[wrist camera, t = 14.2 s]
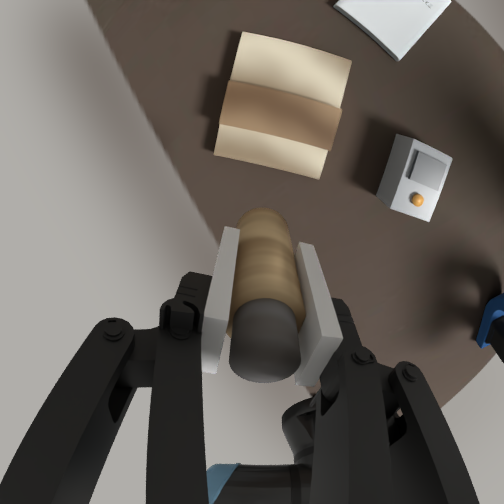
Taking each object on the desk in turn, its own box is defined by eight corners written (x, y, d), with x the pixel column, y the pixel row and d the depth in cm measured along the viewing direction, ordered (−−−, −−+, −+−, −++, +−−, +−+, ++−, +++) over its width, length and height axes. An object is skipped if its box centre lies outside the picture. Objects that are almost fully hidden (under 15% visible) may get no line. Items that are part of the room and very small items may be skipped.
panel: (316, 176, 28) (321, 182, 26) (215, 152, 27) (211, 156, 25) (348, 62, 22) (355, 59, 20) (243, 34, 21) (241, 29, 19)
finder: (412, 208, 29) (430, 223, 25) (375, 195, 29) (391, 209, 25) (432, 150, 26) (454, 158, 22) (395, 133, 25) (415, 139, 21)
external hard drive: (331, 8, 20) (391, -46, 15) (394, 62, 22) (446, 4, 17) (335, 3, 18) (397, -51, 14) (400, 60, 21) (453, 1, 16)
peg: (279, 260, 19) (293, 393, 10) (230, 248, 19) (209, 380, 10) (294, 215, 17) (328, 337, 9) (242, 201, 17) (227, 319, 8)
